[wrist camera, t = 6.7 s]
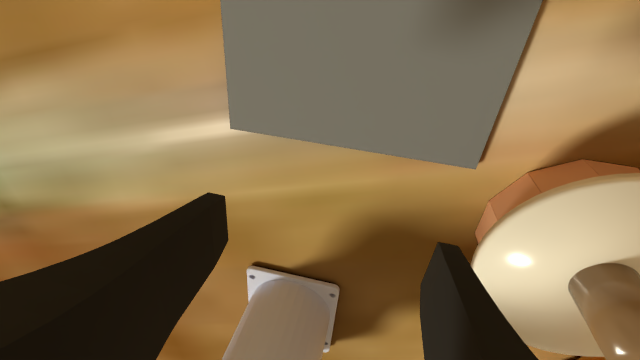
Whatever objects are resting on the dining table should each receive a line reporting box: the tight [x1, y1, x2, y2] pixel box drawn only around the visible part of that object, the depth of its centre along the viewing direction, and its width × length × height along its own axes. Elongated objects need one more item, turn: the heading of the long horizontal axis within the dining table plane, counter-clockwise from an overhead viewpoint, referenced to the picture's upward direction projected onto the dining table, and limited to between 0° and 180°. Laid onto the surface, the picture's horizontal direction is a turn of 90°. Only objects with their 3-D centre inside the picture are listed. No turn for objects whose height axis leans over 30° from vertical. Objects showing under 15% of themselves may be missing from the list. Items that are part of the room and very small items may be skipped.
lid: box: [471, 173, 640, 360], centre depth 15 cm, size 12×12×5 cm
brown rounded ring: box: [475, 159, 640, 244], centre depth 18 cm, size 10×10×4 cm
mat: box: [220, 0, 543, 169], centre depth 15 cm, size 15×15×1 cm
